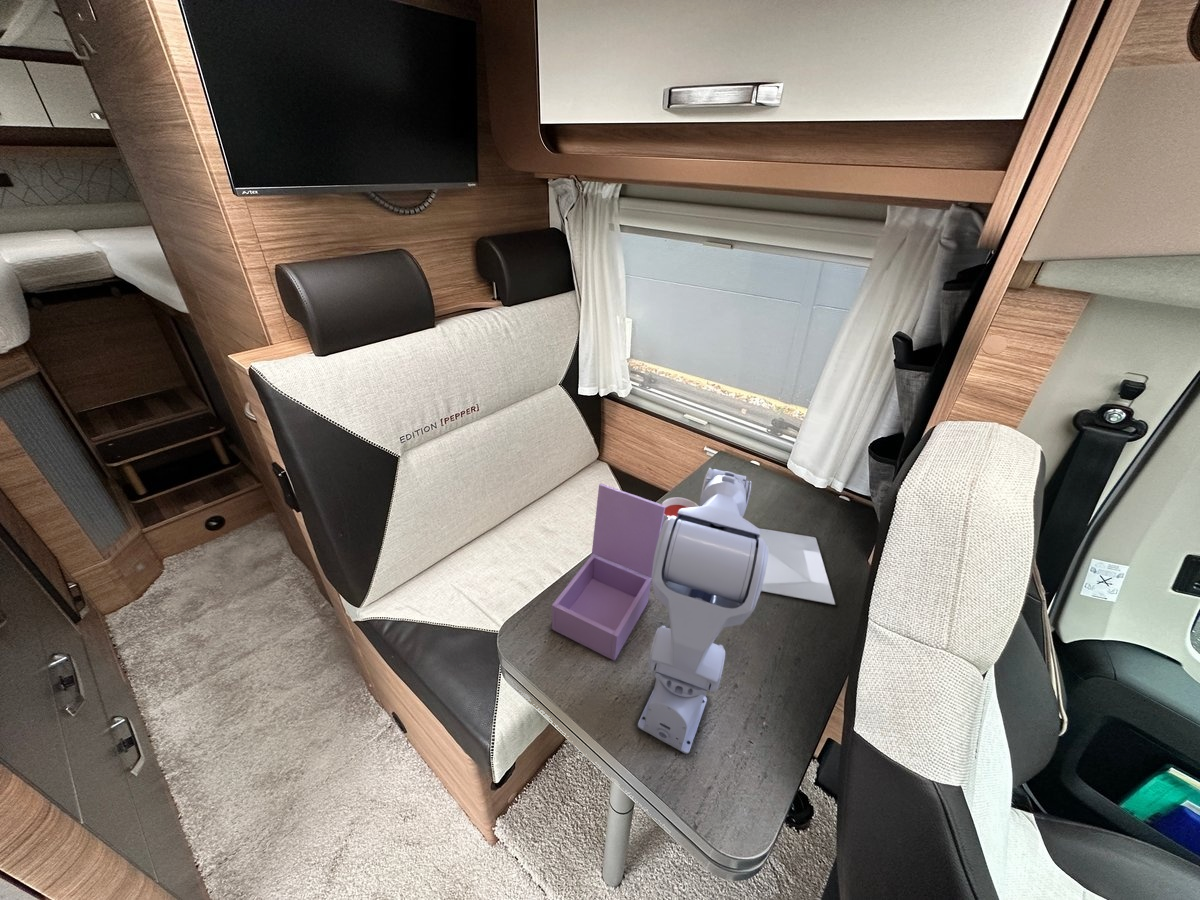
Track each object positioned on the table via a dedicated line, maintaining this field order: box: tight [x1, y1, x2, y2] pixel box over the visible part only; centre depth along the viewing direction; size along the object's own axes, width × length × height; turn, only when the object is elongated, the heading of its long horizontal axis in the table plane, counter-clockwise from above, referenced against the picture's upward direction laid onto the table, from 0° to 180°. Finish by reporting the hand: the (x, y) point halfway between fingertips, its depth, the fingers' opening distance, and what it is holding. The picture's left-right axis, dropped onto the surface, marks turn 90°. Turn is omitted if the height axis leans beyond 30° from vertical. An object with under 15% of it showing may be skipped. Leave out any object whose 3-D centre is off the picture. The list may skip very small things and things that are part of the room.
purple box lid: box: [591, 483, 665, 578], centre depth 85 cm, size 16×13×1 cm
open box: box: [551, 553, 652, 662], centre depth 85 cm, size 15×13×6 cm
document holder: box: [757, 527, 836, 606], centre depth 101 cm, size 20×1×20 cm
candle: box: [660, 497, 700, 526], centre depth 107 cm, size 9×9×6 cm
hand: (700, 599), depth 79 cm, fingers closed on block, 4 cm apart
